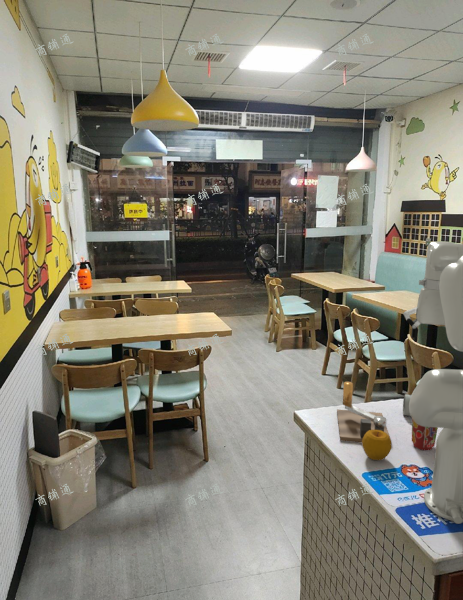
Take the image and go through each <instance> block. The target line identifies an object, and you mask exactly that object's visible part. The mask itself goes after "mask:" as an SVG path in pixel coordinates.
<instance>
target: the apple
mask: <svg viewBox="0 0 463 600" xmlns="http://www.w3.org/2000/svg"><path fill="white" fill-rule="evenodd" d="M389 436H390V434H389V435H388V434H386V433H385V432H383V431H381V430H369V431H367V432H366V433H365V435H364V437H363V440H362V443H361V446H362V448H363V451H364V453H365V455H366V456H367V457H368V459H371V460H372V461H383V460H384V459H385V458H386V457H388V456H389V454H390V453H391V450H392V440H391V437H389Z"/></svg>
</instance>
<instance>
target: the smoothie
mask: <svg viewBox="0 0 463 600" xmlns="http://www.w3.org/2000/svg"><path fill="white" fill-rule="evenodd" d="M437 433H438V428H437V427H424V426H420V425H418V424H417V423H415V422H414V420H413V419H412V418H411V442H412V444H413V446H414V447H415V448H416V449H418V450H420V451H431V450H433V448H434V447H436V441H437V436H438V435H437Z"/></svg>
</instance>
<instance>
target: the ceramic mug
mask: <svg viewBox="0 0 463 600" xmlns="http://www.w3.org/2000/svg"><path fill="white" fill-rule="evenodd" d="M411 395H412V394H407V393H406V394H404V397H403V401H402V402H403V403H402V415H403V416H409V417H411V415H410V411H409V402H410V398H411Z"/></svg>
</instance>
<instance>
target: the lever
mask: <svg viewBox="0 0 463 600" xmlns="http://www.w3.org/2000/svg"><path fill="white" fill-rule="evenodd" d="M353 392H354V383H353V382H351V381H344V382H343V393H342V405H343V406H344V410H349V411H351V412H353V413H355V414H357V415H359V416H362V417H364V418H366V419H370V420H371V421H372V422H373V424H374V425H375V426H377V427H385V426H386V427H387V418H386V417H384V416H383V417H382V416H375V415H373V414H371V413H369V412H370V411H366V410H364V409H362V408H359V407H358V406H355V405H353Z"/></svg>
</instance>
